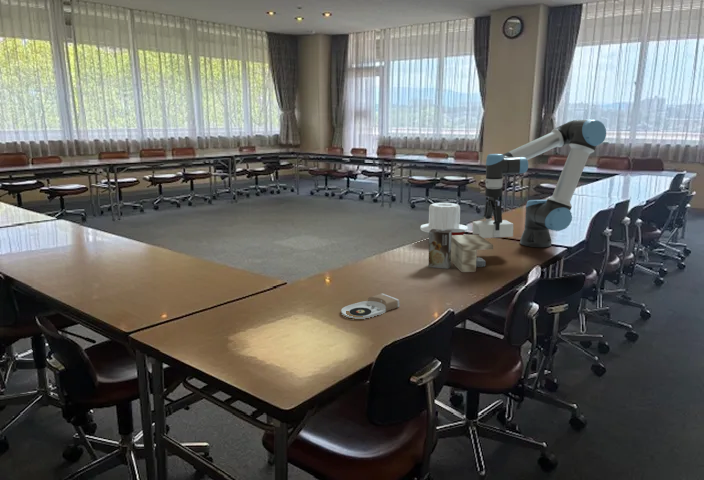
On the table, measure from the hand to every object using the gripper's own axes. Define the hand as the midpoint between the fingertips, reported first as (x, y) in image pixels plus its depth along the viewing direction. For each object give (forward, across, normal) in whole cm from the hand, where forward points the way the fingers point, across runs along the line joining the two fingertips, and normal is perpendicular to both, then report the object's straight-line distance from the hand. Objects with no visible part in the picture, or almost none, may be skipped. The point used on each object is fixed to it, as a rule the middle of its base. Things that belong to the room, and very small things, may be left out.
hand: (492, 234), depth 240 cm
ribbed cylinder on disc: (+10, -34, -14) cm, 38 cm away
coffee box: (+9, +17, -30) cm, 35 cm away
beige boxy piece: (+9, +17, -17) cm, 26 cm away
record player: (+9, +67, -67) cm, 95 cm away
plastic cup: (+10, -4, -18) cm, 20 cm away
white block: (0, 0, 0) cm, 0 cm away
